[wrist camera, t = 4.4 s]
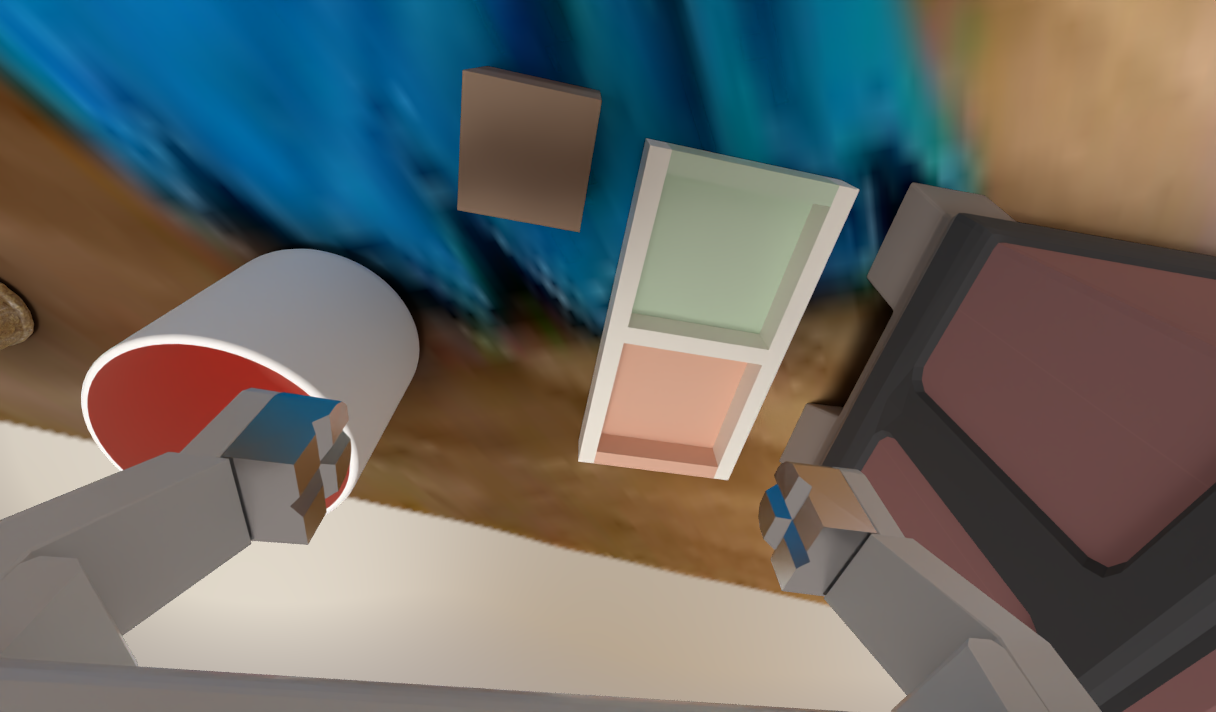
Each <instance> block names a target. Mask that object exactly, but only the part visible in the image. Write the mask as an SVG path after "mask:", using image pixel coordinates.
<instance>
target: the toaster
mask: <svg viewBox="0 0 1216 712" xmlns="http://www.w3.org/2000/svg"><path fill="white" fill-rule="evenodd" d="M867 279H868V280H869V281H870V282H871V283H872V285H873V286H874V287H875V288H876V289H877V291H878V292H879V293H880V294H881V296H882V297H883V298H884V299H885V300H886V302H887V303H888V304H889V305H890V306H891V308H892V309H893V315H892V316H891V318H890V320H889V322H888V324H887V326H886V328H885V330H884V332H883V334H882V335H881V337H880V339H879V341H878V343H877V345H876V347H875V349H874V351H873V352H872V354H871V356H870V358H869V360H868V362H867V364H866V366H865V368H864V370H863V372H862V373H861V375H860V377H859V379H858V381H857V383H856V385H855V387H854V389H853V391H852V392H851V394H850V396H849V398H848V400H847V402H846V404H845V406H844V407H838V406H830V405H822V404H814V403H807V404H806V406H805V408H804V410H803V412H802V414H801V416H800V418H799V420H798V422H797V424H796V427H795V429H794V431H793V433H792V435H791V437H790V439H789V441H788V444H787V446H786V448H785V450H784V452H783V454H782V456H781V458H780V460H779V462H781V463H784V462H785V461H788V462H796V463H804V464H812V465H819V466H827V467H839V468H848V469H857V470H859V471H860V472H862V473H863V474H864V475H865V476H866V477H867V479H868V480H869V482H870V484H871V485H872V487H873V488H874V490H875V491H876V493H877V494H878V496H879V498H880V499H881V501H882V502H883V504H884V505H885V507H886V508H887V510H888V512H889V513H890V515H891V516H892V518H893V519H894V521H895V522H896V524H897V526H898V527H899V529H900V530H901V532H902V533H903V535H904V536H905V538H911V539H914V540H915V541H917V542H918V543H919V544H920V545H922V546H923V547H924V548H926V549H927V550H928V551H930V552H931V553H932V554H934V555H935V556H936V557H937V558H939V559H940V560H941V561H943V562H944V563H945V564H947V565H948V566H949V567H951V568H952V569H953V570H954V571H956V572H957V573H958V574H960V575H961V576H962V577H964V578H965V579H966V580H968V581H969V582H970V583H971V584H973V585H974V586H975V587H977V588H978V589H979V590H981V591H982V592H983V593H985V594H986V595H987V596H988V597H990V598H991V599H992V600H994V601H995V602H996V603H998V604H999V605H1000V606H1002V607H1003V608H1004V609H1005V610H1007V611H1008V612H1009V613H1011V614H1012V615H1013V616H1015V617H1016V618H1017V619H1019V620H1020V621H1021V622H1022V623H1024V624H1025V625H1026V626H1028V627H1029V628H1030V629H1032V630H1033V631H1034V632H1036V633H1037V634H1038V635H1039V636H1041V637H1042V638H1043V639H1045V640H1046V641H1047V642H1049V643H1050V644H1051V646H1052V647H1053V648H1054V650H1055V651H1056V652H1057V654H1058V655H1059V656H1060V658H1061V659H1062V660H1063V661H1064V663H1065V664H1066V665H1067V667H1068V668H1069V669H1070V671H1071V672H1072V673H1073V675H1074V676H1075V677H1076V678H1077V680H1078V681H1079V682H1080V684H1081V685H1082V686H1083V688H1084V689H1085V690H1086V692H1087V693H1088V694H1089V695H1090V697H1091V698H1092V699H1093V701H1094V702H1095V703H1096V705H1097V706H1098V707H1099V709H1100V710H1101V711H1102V712H1216V257H1214V256H1208V255H1202V254H1197V253H1191V252H1185V251H1180V250H1174V249H1168V248H1162V247H1157V246H1151V245H1145V244H1140V243H1134V242H1128V241H1122V240H1117V239H1111V238H1105V237H1100V236H1094V235H1088V234H1082V233H1077V232H1071V231H1065V230H1060V229H1054V228H1048V227H1042V226H1037V225H1031V224H1025V223H1020V222H1016V221H1015V220H1014V219H1012V218H1011V217H1010V216H1009V215H1008V214H1006V213H1005V212H1004V211H1003V210H1002V209H1000V208H999V207H998V206H997V205H996V204H994V203H993V202H992V201H991V200H990V199H988V198H987V197H986V196H985V195H979V194H974V193H968V192H963V191H957V190H951V189H946V188H940V187H935V186H929V185H924V184H919V183H912V184H911V185H910V187H909V189H908V191H907V193H906V195H905V197H904V199H903V202H902V204H901V206H900V208H899V210H898V212H897V214H896V216H895V218H894V220H893V222H892V225H891V227H890V229H889V231H888V233H887V235H886V237H885V239H884V241H883V243H882V245H881V248H880V250H879V252H878V254H877V256H876V258H875V260H874V262H873V264H872V267H871V269H870V271H869V273H868V275H867Z"/></svg>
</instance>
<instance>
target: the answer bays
mask: <svg viewBox="0 0 1216 712" xmlns="http://www.w3.org/2000/svg"><path fill="white" fill-rule="evenodd" d="M858 192H859V189H857V188H855V187H853V186H852V185H850V184H848V183H846V182H844V181H842V180H839V179H834V178H829V177H825V176H820V175H816V174H811V173H806V172H802V171H797V170H792V169H788V168H783V167H778V166H774V165H769V164H764V163H760V162H755V161H750V160H746V159H741V158H736V157H732V156H727V155H722V154H718V153H713V152H708V151H704V150H699V149H694V148H690V147H685V146H680V145H676V144H671V143H666V142H662V141H657V140H652V139H648V138H646V140H645V144H644V149H643V153H642V158H641V162H640V167H639V171H638V176H637V180H636V185H635V189H634V194H633V198H632V203H631V207H630V212H629V216H628V221H627V225H626V230H625V234H624V239H623V243H622V248H621V252H620V257H619V261H618V266H617V270H616V275H615V279H614V284H613V288H612V293H611V297H610V302H609V306H608V311H607V315H606V320H605V324H604V329H603V333H602V338H601V342H600V347H599V351H598V356H597V360H596V365H595V369H594V374H593V378H592V383H591V387H590V392H589V396H588V401H587V405H586V410H585V414H584V419H583V423H582V428H581V432H580V437H579V449H578V461H580V462H588V463H596V464H604V465H612V466H620V467H628V468H635V469H643V470H651V471H659V472H667V473H675V474H683V475H691V476H699V477H707V478H715V479H723V480H728V479H729V477H730V475H731V472H732V470H733V468H734V466H735V464H736V461H737V459H738V457H739V455H740V453H741V450H742V448H743V446H744V444H745V441H746V439H747V437H748V435H749V433H750V430H751V428H752V426H753V424H754V422H755V419H756V417H757V415H758V413H759V411H760V408H761V406H762V404H763V402H764V400H765V397H766V395H767V393H768V391H769V389H770V386H771V384H772V382H773V380H774V377H775V375H776V373H777V371H778V369H779V366H780V364H781V362H782V360H783V358H784V355H785V353H786V351H787V349H788V347H789V344H790V342H791V340H792V338H793V336H794V333H795V331H796V329H797V327H798V325H799V322H800V320H801V318H802V316H803V313H804V311H805V309H806V307H807V305H808V302H809V300H810V298H811V296H812V294H813V291H814V289H815V287H816V285H817V283H818V280H819V278H820V276H821V274H822V272H823V269H824V267H825V265H826V263H827V261H828V258H829V256H830V254H831V252H832V250H833V247H834V245H835V243H836V241H837V238H838V236H839V234H840V232H841V230H842V227H843V225H844V223H845V221H846V219H847V216H848V214H849V212H850V210H851V208H852V205H853V203H854V201H855V199H856V197H857V194H858Z"/></svg>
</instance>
